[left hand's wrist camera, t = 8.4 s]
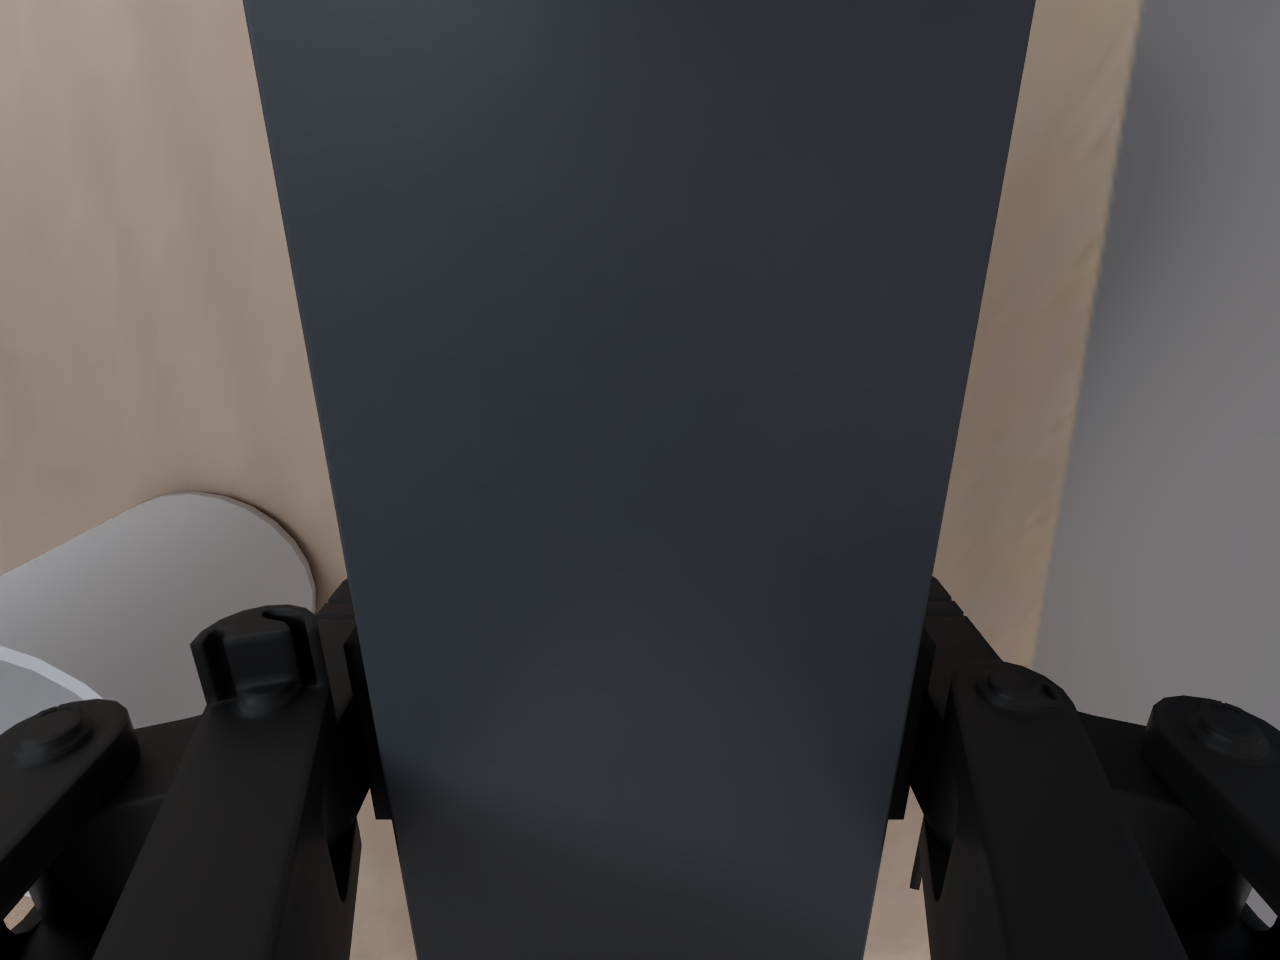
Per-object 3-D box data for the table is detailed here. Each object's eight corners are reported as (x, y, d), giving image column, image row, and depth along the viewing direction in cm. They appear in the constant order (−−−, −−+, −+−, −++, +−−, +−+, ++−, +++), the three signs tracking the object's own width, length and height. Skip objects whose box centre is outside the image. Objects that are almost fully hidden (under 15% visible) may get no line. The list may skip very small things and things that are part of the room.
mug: (186, 430, 25) (-89, 566, 16) (375, 586, 28) (236, 786, 18) (32, 605, 28) (-282, 811, 19) (216, 733, 31) (23, 973, 21)
